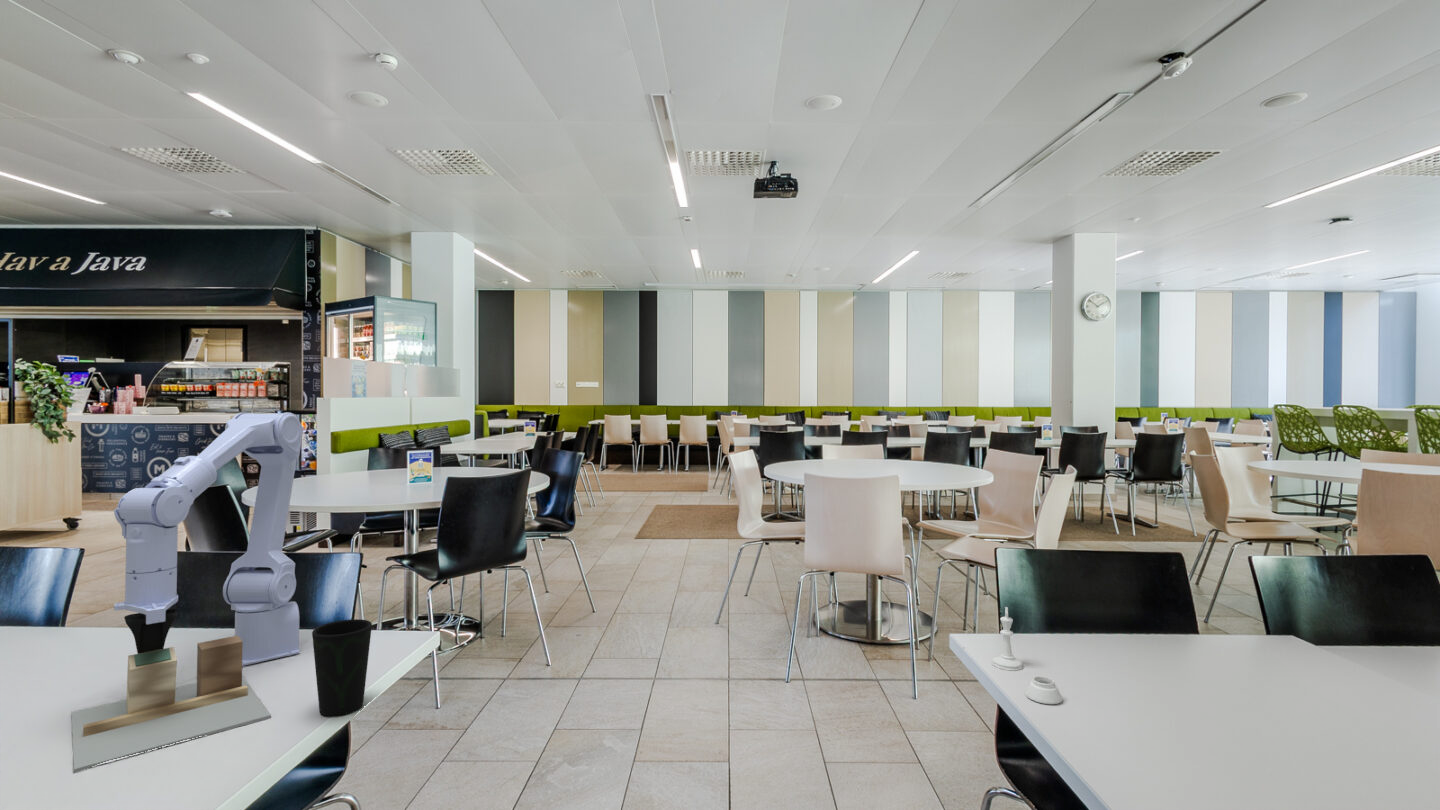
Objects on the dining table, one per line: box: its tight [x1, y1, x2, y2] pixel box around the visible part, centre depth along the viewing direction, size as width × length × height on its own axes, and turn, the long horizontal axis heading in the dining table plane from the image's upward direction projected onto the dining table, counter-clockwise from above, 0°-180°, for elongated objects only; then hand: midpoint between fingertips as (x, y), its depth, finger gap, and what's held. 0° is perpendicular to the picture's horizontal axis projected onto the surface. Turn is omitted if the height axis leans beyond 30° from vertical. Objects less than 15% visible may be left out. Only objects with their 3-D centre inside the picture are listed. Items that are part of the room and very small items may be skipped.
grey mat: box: [70, 674, 272, 773], centre depth 93 cm, size 20×22×1 cm
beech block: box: [125, 646, 178, 714], centre depth 93 cm, size 5×4×8 cm
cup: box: [311, 618, 373, 718], centre depth 96 cm, size 8×8×12 cm
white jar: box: [1024, 675, 1063, 705], centre depth 99 cm, size 5×3×5 cm
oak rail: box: [83, 685, 248, 737], centre depth 93 cm, size 18×1×1 cm, turn 136°
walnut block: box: [196, 635, 243, 697], centre depth 99 cm, size 5×4×8 cm
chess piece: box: [991, 606, 1024, 672], centre depth 112 cm, size 5×5×10 cm
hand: (150, 662), depth 95 cm, fingers closed
